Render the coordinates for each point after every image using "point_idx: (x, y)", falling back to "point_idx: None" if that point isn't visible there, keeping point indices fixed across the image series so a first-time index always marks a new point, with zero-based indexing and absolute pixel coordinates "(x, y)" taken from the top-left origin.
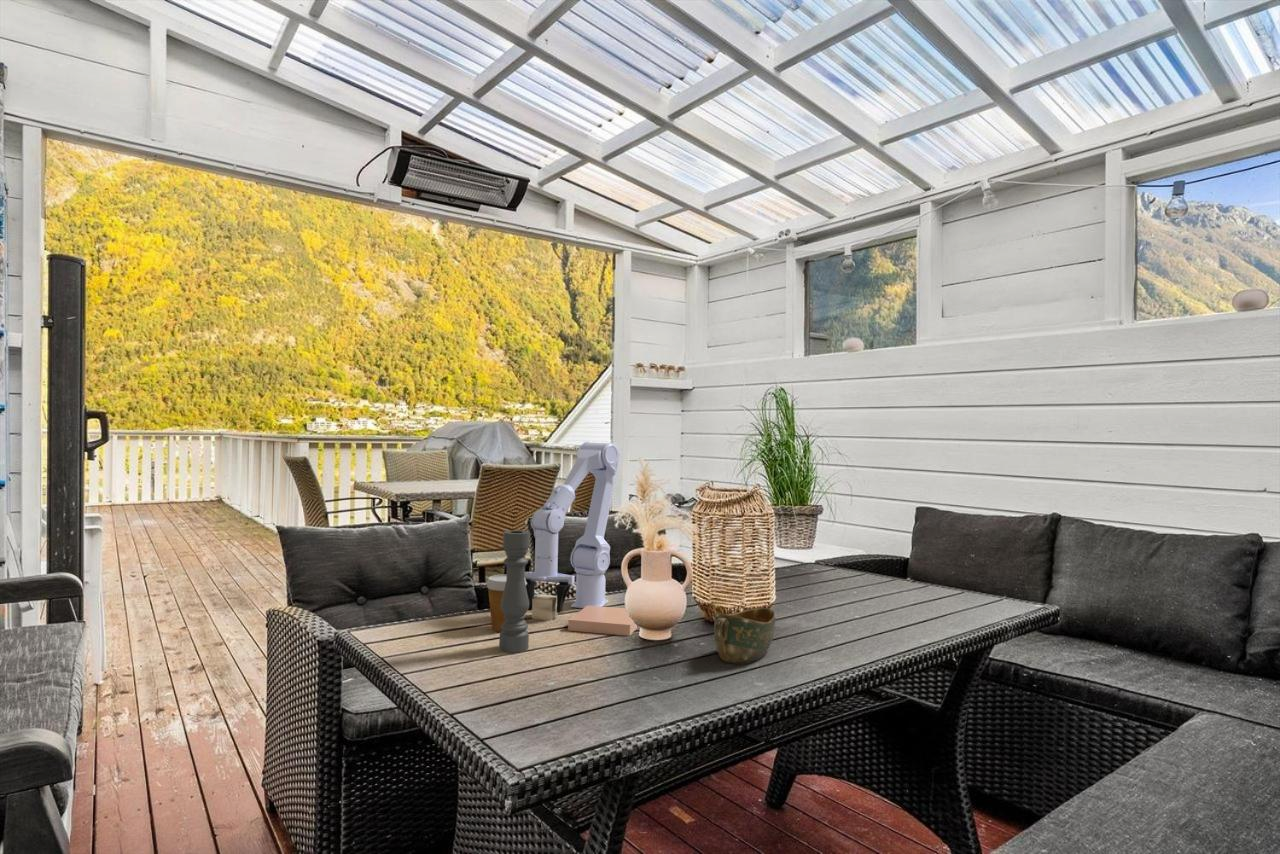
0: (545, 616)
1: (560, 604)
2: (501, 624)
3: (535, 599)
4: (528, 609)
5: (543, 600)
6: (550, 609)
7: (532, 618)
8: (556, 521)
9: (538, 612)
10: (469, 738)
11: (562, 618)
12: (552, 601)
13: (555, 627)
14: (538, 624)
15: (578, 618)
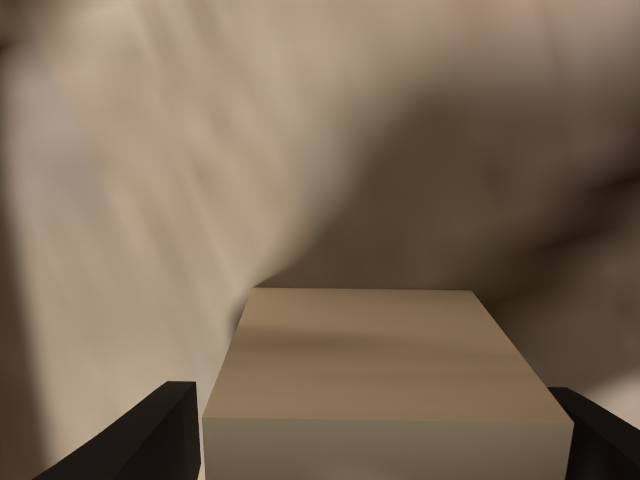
0: (316, 302)
1: (100, 437)
2: None
3: (512, 417)
4: (568, 389)
5: (357, 414)
6: (242, 340)
7: (467, 292)
8: None
9: (409, 319)
10: None
11: None
12: (210, 443)
13: (80, 7)
14: (322, 78)
15: None
